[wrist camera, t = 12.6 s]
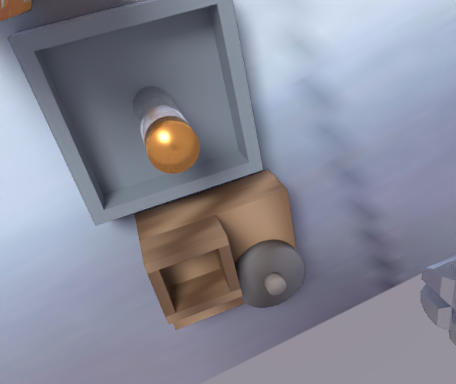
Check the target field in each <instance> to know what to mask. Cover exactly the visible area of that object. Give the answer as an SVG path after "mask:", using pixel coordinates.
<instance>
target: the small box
mask: <svg viewBox="0 0 456 384" xmlns="http://www.w3.org/2000/svg"><path fill="white" fill-rule="evenodd" d="M31 9H32V0H0V22H1V21H3V20H6V19H9V18H11V17H14V16H18V15H20V14H22V13H25V12H28V11H30V10H31Z"/></svg>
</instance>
